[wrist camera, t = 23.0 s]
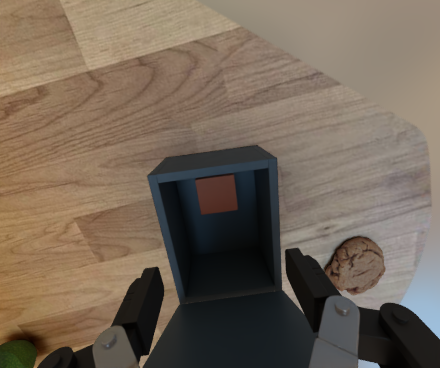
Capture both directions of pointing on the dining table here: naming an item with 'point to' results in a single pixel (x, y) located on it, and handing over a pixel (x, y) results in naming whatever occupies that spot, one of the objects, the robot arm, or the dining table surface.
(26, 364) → the avocado
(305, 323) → the lid
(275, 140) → the dining table surface
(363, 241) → the cookie
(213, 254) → the chest
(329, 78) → the dining table surface
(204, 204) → the block
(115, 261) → the dining table surface
